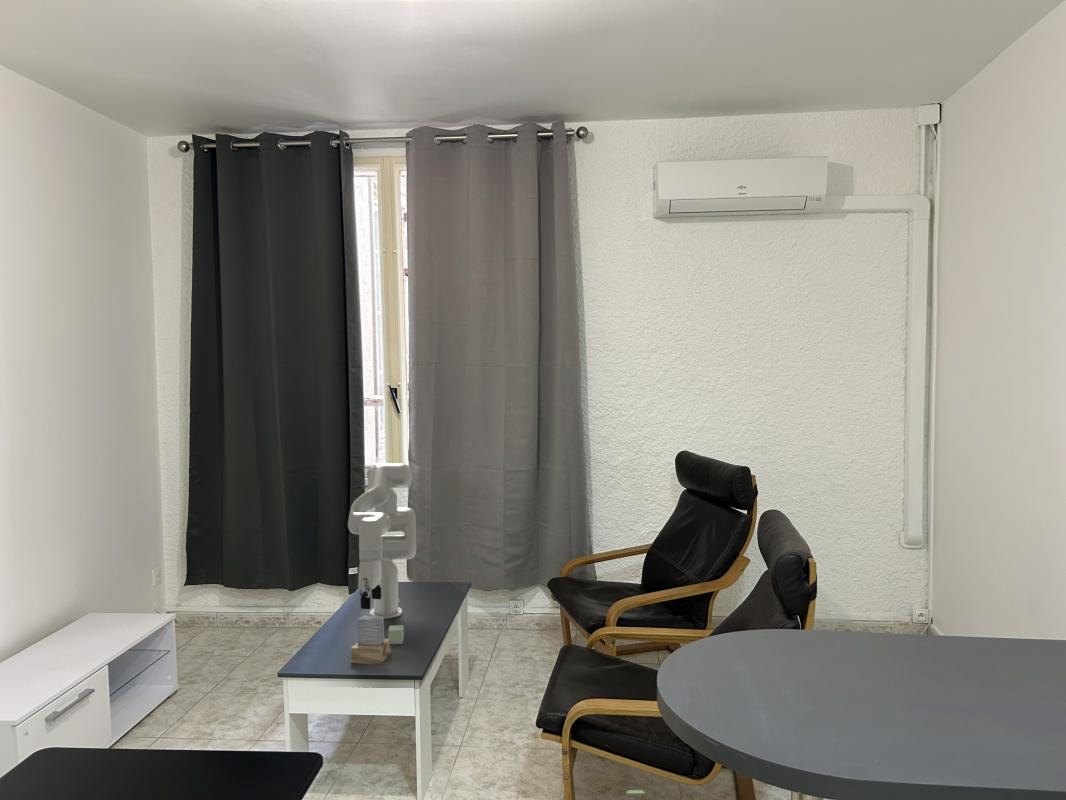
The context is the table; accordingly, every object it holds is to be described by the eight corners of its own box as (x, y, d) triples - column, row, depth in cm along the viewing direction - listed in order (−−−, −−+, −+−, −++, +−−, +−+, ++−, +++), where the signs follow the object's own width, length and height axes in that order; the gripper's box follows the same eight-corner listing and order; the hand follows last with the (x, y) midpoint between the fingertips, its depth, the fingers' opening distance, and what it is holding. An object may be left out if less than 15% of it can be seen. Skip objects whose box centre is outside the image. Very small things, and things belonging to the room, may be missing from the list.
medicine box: (384, 641, 255) (384, 616, 255) (379, 646, 251) (379, 621, 250) (362, 640, 256) (362, 615, 256) (357, 645, 252) (357, 619, 251)
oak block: (363, 651, 259) (363, 637, 259) (390, 653, 258) (390, 639, 258) (351, 662, 250) (351, 647, 249) (379, 664, 248) (379, 650, 248)
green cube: (389, 639, 271) (389, 625, 271) (403, 638, 272) (403, 625, 271) (388, 644, 266) (388, 630, 266) (402, 643, 267) (402, 630, 266)
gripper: (370, 546, 261) (370, 594, 262) (349, 561, 244) (350, 612, 245) (390, 547, 260) (390, 595, 261) (371, 562, 243) (372, 613, 244)
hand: (371, 603), depth 253 cm, fingers open, 9 cm apart
